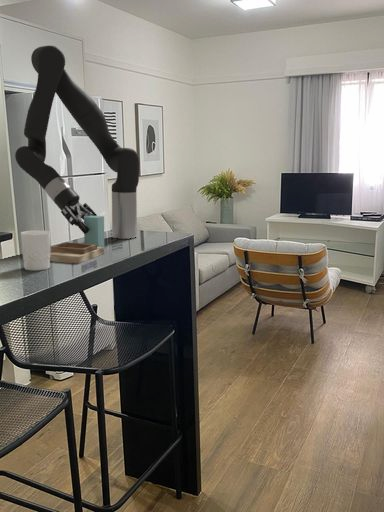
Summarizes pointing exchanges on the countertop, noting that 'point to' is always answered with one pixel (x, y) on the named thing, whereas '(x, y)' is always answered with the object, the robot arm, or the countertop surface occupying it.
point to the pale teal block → (94, 230)
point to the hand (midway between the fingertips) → (93, 230)
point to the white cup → (36, 249)
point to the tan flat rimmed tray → (74, 252)
